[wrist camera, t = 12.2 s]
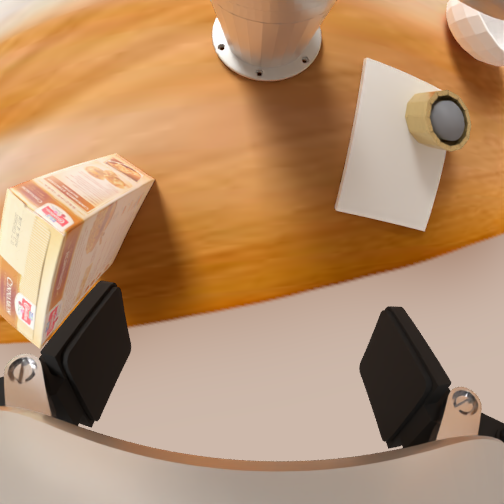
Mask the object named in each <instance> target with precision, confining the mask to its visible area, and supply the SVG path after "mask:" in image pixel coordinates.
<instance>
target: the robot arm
mask: <svg viewBox="0 0 504 504" xmlns="http://www.w3.org/2000/svg"><path fill="white" fill-rule="evenodd" d="M210 1H211V3H212V6H213V8H214V11H215V13H216V16H217V17H216V19H215V22H214V25H213V29H212V41H213V45H214V48H215V51H216V53H217V55H218V56H219V58H220V59H221V60H222V62H223V63H224V64H225V65H226V66H227V67H228V68H230V69H231V70H232V71H234V72H236V73H237V74H239V75H241V76H243V77H246V78H249V79H253V80H258V81H279V80H284V79H287V78H291V77H293V76H295V75H297V74H299V73H301V72H302V71H304V70H305V69H306V68H308V67H309V65H310V64H311V63H312V62H313V61H314V59H315V58H316V56H317V55H318V52H319V50H320V47H321V41H322V36H321V29H320V25H321V23H322V22H323V20H324V19H325V17H326V16H327V14H328V13H329V11H330V10H331V8H332V7H333V5H334V4H335V2H336V1H337V0H210ZM458 1H460V2H462V3H464V4H466V5H467V6H469V7H471V8H473V9H475V10H477V11H479V12H481V13H483V14H486V15H488V16H491V17H493V18H496V19H499V20H503V21H504V0H458ZM222 47H223V48H224V50H220V49H221V48H222ZM302 60H305V61H306V63H303V62H302ZM257 73H261V74H262V75H261V76H258V75H257ZM130 351H131V342H130V338H129V333H128V328H127V323H126V317H125V312H124V306H123V300H122V294H121V289H120V288H119V287H117V285H116V284H115V283H113V282H106V281H100V282H98V283H97V285H96V286H95V287H94V288H93V289H92V290H91V291H90V292H89V294H88V295H87V296H86V297H85V298H84V299H83V300H82V301H81V303H80V304H79V305H78V306H77V307H76V308H75V310H74V311H73V312H72V313H71V314H70V316H69V317H68V318H67V319H66V320H65V322H64V323H63V324H62V325H61V326H60V328H59V329H58V330H57V331H56V333H55V334H54V335H53V336H52V338H51V339H50V340H49V341H48V343H47V344H46V345H45V347H44V348H43V349H42V351H41V354H42V355H41V356H40V358H39V359H38V358H37V357H36V356H34V355H31V354H22V355H18V356H16V357H14V358H13V359H11V360H10V361H9V362H8V363H7V365H6V367H5V370H4V377H1V378H0V504H504V423H502V422H500V421H498V420H495V419H493V418H491V417H489V416H487V415H485V414H483V413H481V402H480V399H479V398H478V396H477V395H476V394H475V393H474V392H473V391H471V390H469V389H467V388H464V387H457V388H454V389H452V391H450V390H449V388H448V387H449V386H450V384H451V381H450V380H449V378H448V376H447V375H446V373H445V371H444V370H443V368H442V366H441V365H440V363H439V361H438V360H437V358H436V357H435V355H434V353H433V352H432V350H431V349H430V347H429V346H428V344H427V342H426V341H425V339H424V338H423V336H422V335H421V333H420V332H419V330H418V329H417V327H416V326H415V324H414V323H413V322H412V320H411V319H410V317H409V316H408V314H407V313H406V311H405V310H404V309H403V308H402V307H387V308H386V309H385V310H384V311H382V312H381V314H380V316H379V319H378V322H377V324H376V327H375V329H374V332H373V334H372V337H371V339H370V342H369V344H368V346H367V349H366V352H365V353H364V356H363V358H362V360H361V363H360V374H361V377H362V379H363V382H364V385H365V388H366V391H367V394H368V397H369V400H370V403H371V405H372V409H373V412H374V415H375V418H376V421H377V424H378V428H379V431H380V434H381V437H382V440H383V441H386V443H387V446H388V448H393V447H397V446H401V445H402V446H403V448H402V449H397V450H392V451H387V452H382V453H375V454H370V455H363V456H355V457H347V458H338V459H327V460H313V461H276V462H274V461H245V460H232V459H221V458H211V457H203V456H196V455H189V454H183V453H177V452H171V451H166V450H161V449H156V448H151V447H147V446H143V445H139V444H135V443H131V442H127V441H124V440H120V439H117V438H113V437H110V436H106V435H103V434H100V433H97V432H94V431H90V430H87V429H84V428H81V427H79V426H78V424H79V423H80V424H83V425H85V426H88V427H92V425H93V423H94V421H98V420H99V419H100V416H101V414H102V412H103V410H104V407H105V405H106V403H107V401H108V398H109V396H110V394H111V392H112V390H113V388H114V386H115V383H116V381H117V379H118V377H119V375H120V373H121V371H122V368H123V366H124V364H125V362H126V360H127V358H128V356H129V354H130Z"/></svg>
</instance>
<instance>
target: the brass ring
mask: <svg viewBox="0 0 504 504" xmlns="http://www.w3.org/2000/svg"><path fill="white" fill-rule="evenodd" d="M434 101H451V102H453V103H455V104H456V105H457V106H458V107H459V108H460V110H461V112H462V114H463V117H464V123H465V126H464V131H463V134H462V135H461V137H460V138H459V139H457V140H455V141H450V140H444V139H439V138H438V137H437V136H436V134H435V133H434V132H433V128H432V124H431V120H430V113H431V106H432V104H433V102H434ZM405 119H406V122H407V126H408V130H409V132H410V133H411V135H412V136H413V137H414V138H415V139H416V141H417V142H418V143H421V144H423V145H426V146H428V147H432V148H437V149H441V150H446V151H450V152H451V151H455V150H459V149H462V147H463V146H464V145H465V143H466V142H467V141H468V139H469V136H470V130H471V121H470V116H469V112H468V109H467V107H466V106H465V104H464V103H463V101H462V100H461V98H460V97H459V96H458V95H456V94H454V93H452V92H451V91H449V90H441V91H431V92H424V93H417V94H414V96H413V97H412V98H411V99H410V100H409V101H408V102H407V107H406V113H405Z"/></svg>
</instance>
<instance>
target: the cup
mask: <svg viewBox="0 0 504 504" xmlns="http://www.w3.org/2000/svg"><path fill="white" fill-rule="evenodd" d="M446 18H447V22H448V26H449V29H450V31H451V32H452V34H453V36H454V38H455V40H456V41H457V42H458V43H459V45H460V46H461V47H462V48H463V49H464V50H465V51H466V52H468V53H469V54H470V55H471V56H473V57H474V58H475V59H476V60H479V61H482V62H484V63H487V64H491V65H494V66H504V21H503V20H499V19H496V18H493V17H491V16H488V15H486V14H483V13H481V12H479V11H477V10H475V9H473V8H471V7H469V6H467V5H466V4H464V3H462V2H460V1H458V0H449V1H448V3H447V10H446Z"/></svg>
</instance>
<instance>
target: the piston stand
mask: <svg viewBox="0 0 504 504" xmlns="http://www.w3.org/2000/svg"><path fill="white" fill-rule="evenodd" d="M431 91H441V90H440V89H438V88H437V87H435V86H433V85H431V84H429V83H427V82H425V81H422V80H420V79H418V78H416V77H414V76H412V75H410V74H407V73H405V72H403V71H400V70H398V69H396V68H393V67H391V66H388V65H386V64H383V63H381V62H378V61H375V60H372V59H370V58H365V59H364V62H363V69H362V75H361V82H360V88H359V94H358V100H357V106H356V111H355V117H354V122H353V127H352V132H351V137H350V142H349V147H348V152H347V157H346V161H345V166H344V170H343V175H342V179H341V183H340V187H339V192H338V196H337V200H336V204H335V208H334V209H335V210H336V211H340V212H345V213H349V214H354V215H358V216H363V217H367V218H372V219H376V220H381V221H385V222H389V223H393V224H397V225H401V226H405V227H409V228H413V229H417V230H421V231H425V229H426V226H427V223H428V220H429V216H430V213H431V210H432V207H433V203H434V200H435V196H436V192H437V189H438V185H439V181H440V177H441V173H442V169H443V164H444V160H445V155H446V150H441V149H437V148H432V147H428V146H426V145H423V144H421V143H418V142H417V141H416V139H415V138H414V137H413V136H412V135H411V133H410V132H409V130H408V126H407V122H406V119H405V113H406V107H407V102H408V101H409V100H410V99H411V98H412V97H413V96H414V94H417V93H424V92H431ZM430 120H431V124H432V128H433V132H434V133H435V134H436V136H437V137H438V138H439V139H444V140H450V141H455V140H457V139H459V138H460V137H461V135H462V134H463V131H464V126H465V123H464V117H463V114H462V112H461V110H460V108H459V107H458V106H457V105H456V104H455V103H453V102H451V101H434V102H433V104H432V106H431V113H430Z"/></svg>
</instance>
